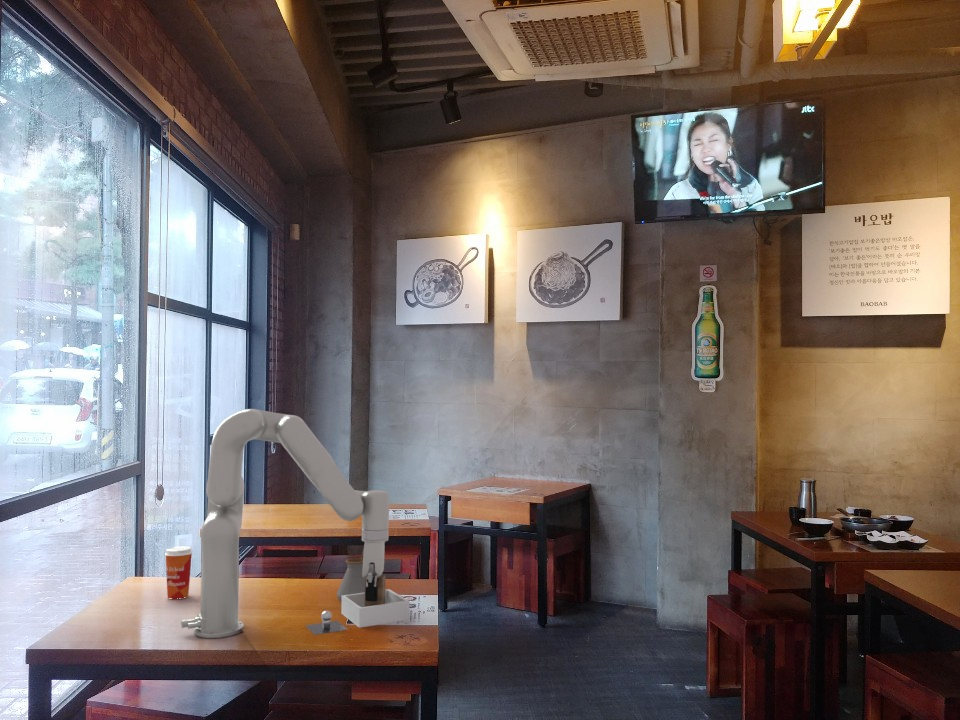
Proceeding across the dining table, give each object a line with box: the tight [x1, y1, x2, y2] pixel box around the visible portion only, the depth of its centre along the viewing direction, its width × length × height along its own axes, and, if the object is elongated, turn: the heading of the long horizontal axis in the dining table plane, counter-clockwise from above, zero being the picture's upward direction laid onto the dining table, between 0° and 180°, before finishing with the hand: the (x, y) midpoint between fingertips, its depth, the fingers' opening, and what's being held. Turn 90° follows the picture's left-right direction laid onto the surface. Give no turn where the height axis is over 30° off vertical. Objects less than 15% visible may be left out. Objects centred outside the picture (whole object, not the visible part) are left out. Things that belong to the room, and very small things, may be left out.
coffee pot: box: [336, 549, 367, 602], centre depth 231 cm, size 21×12×15 cm, turn 175°
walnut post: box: [365, 574, 386, 607], centre depth 209 cm, size 5×5×11 cm
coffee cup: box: [164, 545, 194, 600], centre depth 232 cm, size 8×8×15 cm
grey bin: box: [340, 588, 410, 628], centre depth 209 cm, size 15×15×6 cm
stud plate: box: [304, 610, 348, 636], centre depth 199 cm, size 9×9×5 cm
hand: (374, 596), depth 209 cm, fingers open, 9 cm apart
